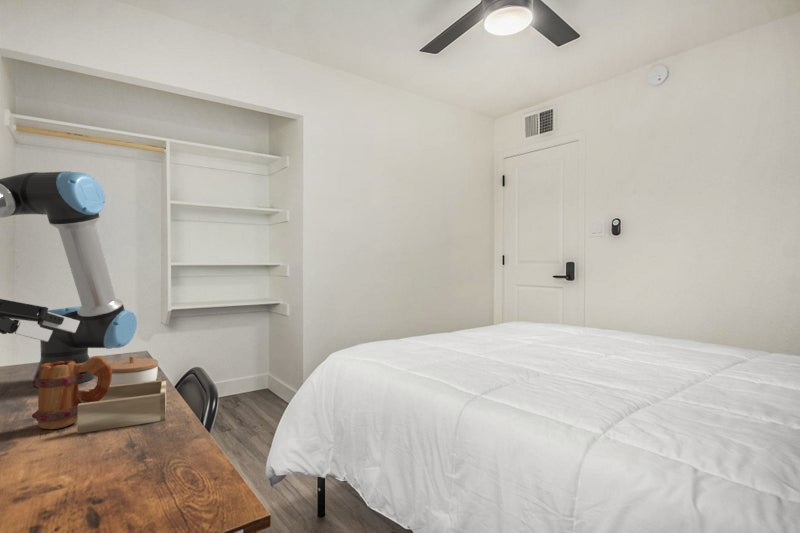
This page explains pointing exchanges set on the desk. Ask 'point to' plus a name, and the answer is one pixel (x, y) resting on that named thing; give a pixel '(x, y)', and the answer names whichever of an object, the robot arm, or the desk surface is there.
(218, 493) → the desk surface
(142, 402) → the wooden u-shaped frame
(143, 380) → the lidded bowl
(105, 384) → the mug
